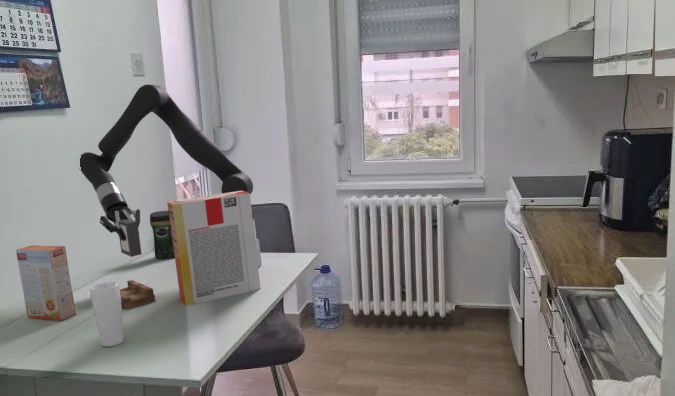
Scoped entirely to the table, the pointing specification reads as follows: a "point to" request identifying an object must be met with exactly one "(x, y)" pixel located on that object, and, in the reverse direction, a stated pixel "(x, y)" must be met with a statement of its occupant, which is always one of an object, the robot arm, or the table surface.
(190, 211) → the pasta box
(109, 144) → the robot arm
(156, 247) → the coffee jar
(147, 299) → the wooden channel tray
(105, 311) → the drinking glass
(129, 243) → the dark grey block
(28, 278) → the cracker box
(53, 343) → the table surface
